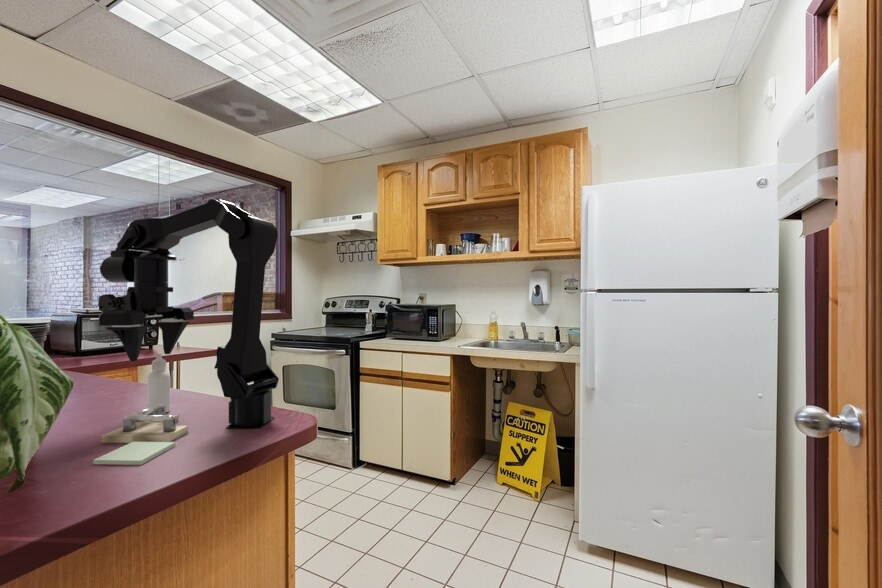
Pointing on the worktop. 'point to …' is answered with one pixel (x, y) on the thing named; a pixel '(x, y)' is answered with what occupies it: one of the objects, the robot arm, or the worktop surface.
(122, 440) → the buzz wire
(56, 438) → the worktop surface
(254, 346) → the robot arm
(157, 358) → the eye dropper bottle
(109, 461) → the pad
